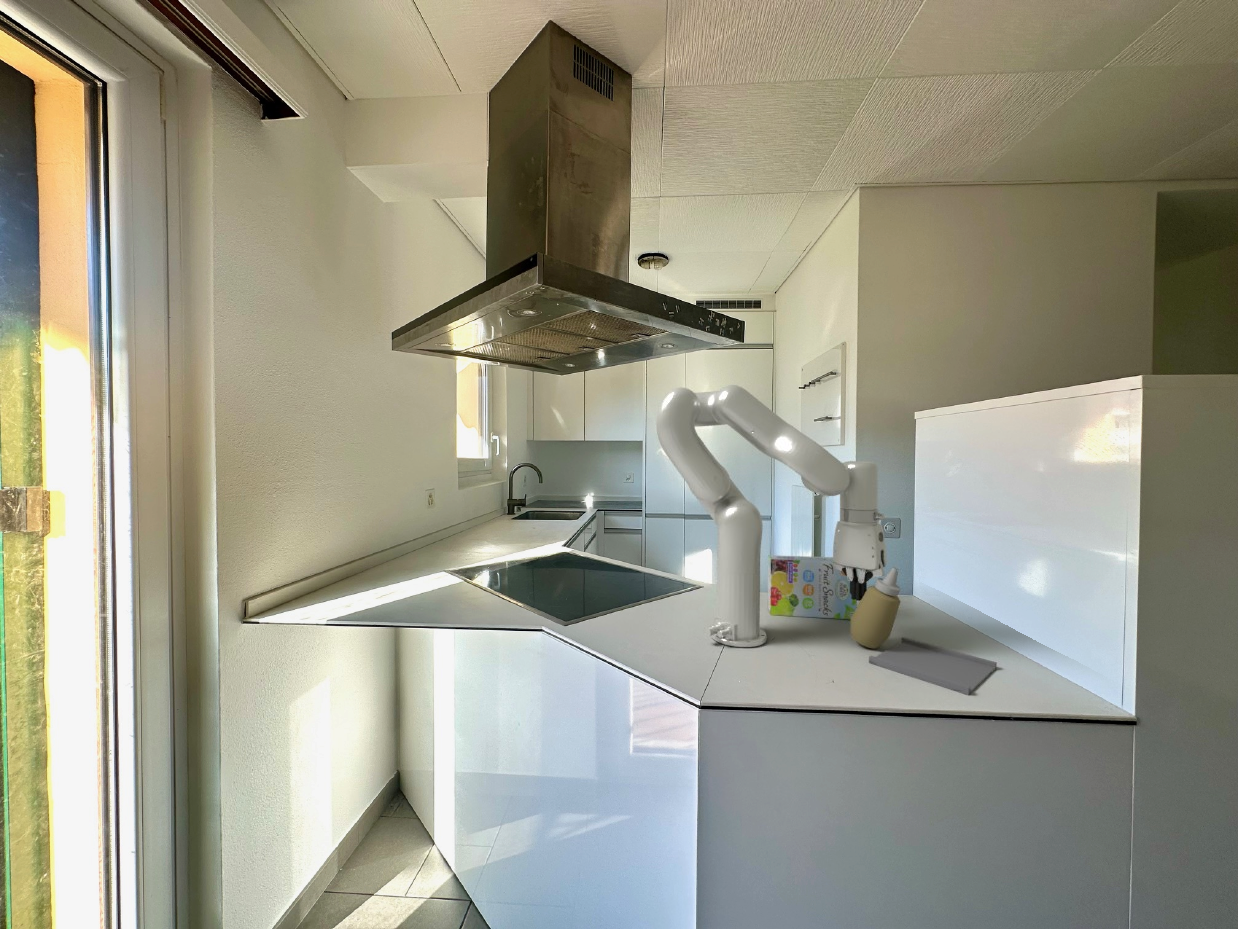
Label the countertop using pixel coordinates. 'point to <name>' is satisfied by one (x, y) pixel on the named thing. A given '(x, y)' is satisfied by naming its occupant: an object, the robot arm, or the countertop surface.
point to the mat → (935, 665)
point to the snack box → (808, 588)
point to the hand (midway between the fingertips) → (858, 598)
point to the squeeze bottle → (876, 612)
